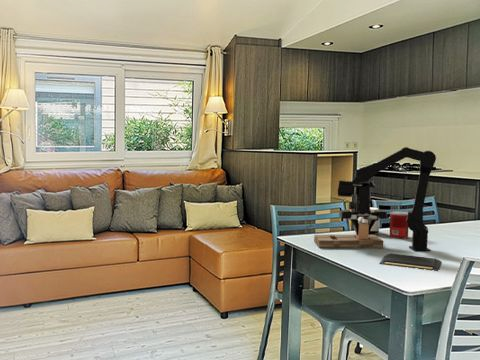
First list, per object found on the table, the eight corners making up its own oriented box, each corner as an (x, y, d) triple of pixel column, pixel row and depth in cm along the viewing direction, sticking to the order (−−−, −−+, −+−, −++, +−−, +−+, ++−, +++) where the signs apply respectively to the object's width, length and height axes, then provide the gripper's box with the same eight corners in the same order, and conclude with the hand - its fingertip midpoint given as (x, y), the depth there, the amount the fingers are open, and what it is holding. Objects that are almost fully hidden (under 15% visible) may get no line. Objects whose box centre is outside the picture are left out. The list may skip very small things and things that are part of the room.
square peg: (368, 241, 196) (368, 224, 195) (358, 241, 196) (359, 224, 195) (365, 238, 200) (366, 222, 199) (356, 238, 200) (356, 222, 199)
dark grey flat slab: (443, 258, 172) (438, 268, 159) (442, 263, 172) (438, 273, 159) (386, 251, 181) (377, 260, 168) (386, 256, 182) (377, 265, 168)
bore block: (383, 248, 192) (383, 240, 192) (319, 248, 191) (319, 240, 191) (374, 241, 204) (374, 234, 203) (314, 241, 203) (314, 234, 203)
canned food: (410, 238, 210) (411, 214, 209) (392, 238, 210) (393, 214, 209) (404, 235, 218) (405, 211, 217) (387, 234, 218) (388, 211, 217)
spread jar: (379, 235, 217) (380, 210, 216) (354, 234, 219) (354, 209, 218) (377, 230, 228) (378, 206, 227) (353, 229, 231) (354, 205, 230)
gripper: (379, 195, 204) (378, 231, 205) (336, 195, 204) (335, 230, 205) (388, 198, 193) (387, 236, 194) (342, 198, 193) (341, 236, 194)
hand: (362, 234), depth 197 cm, fingers closed on square peg, 4 cm apart
